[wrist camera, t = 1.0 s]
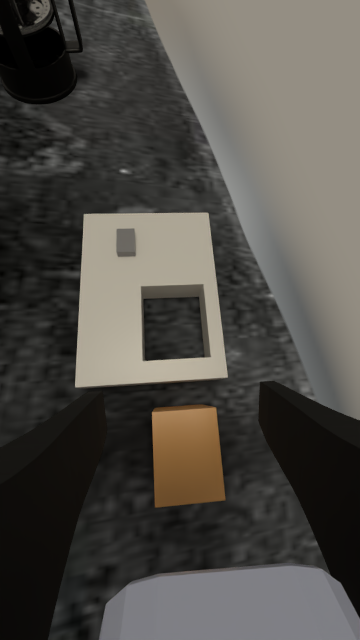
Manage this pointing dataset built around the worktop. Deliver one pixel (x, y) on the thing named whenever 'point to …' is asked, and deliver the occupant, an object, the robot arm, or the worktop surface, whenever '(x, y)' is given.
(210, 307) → the socket
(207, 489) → the plug
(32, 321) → the worktop surface
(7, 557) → the robot arm
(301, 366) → the worktop surface
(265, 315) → the worktop surface
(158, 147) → the worktop surface
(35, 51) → the french press
